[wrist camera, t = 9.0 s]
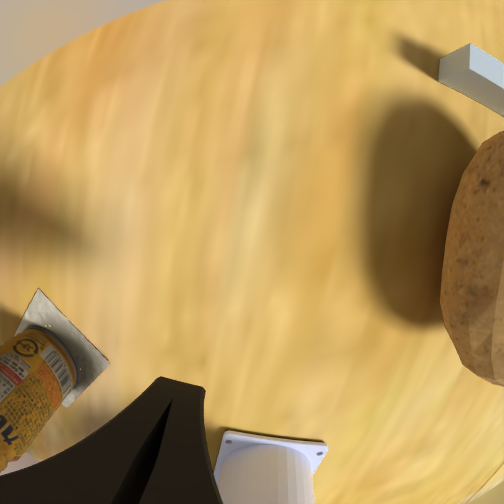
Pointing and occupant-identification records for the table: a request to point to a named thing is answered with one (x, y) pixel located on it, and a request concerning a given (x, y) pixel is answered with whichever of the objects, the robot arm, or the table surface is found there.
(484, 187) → the potato
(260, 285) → the table surface
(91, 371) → the condiment
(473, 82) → the corner walls
